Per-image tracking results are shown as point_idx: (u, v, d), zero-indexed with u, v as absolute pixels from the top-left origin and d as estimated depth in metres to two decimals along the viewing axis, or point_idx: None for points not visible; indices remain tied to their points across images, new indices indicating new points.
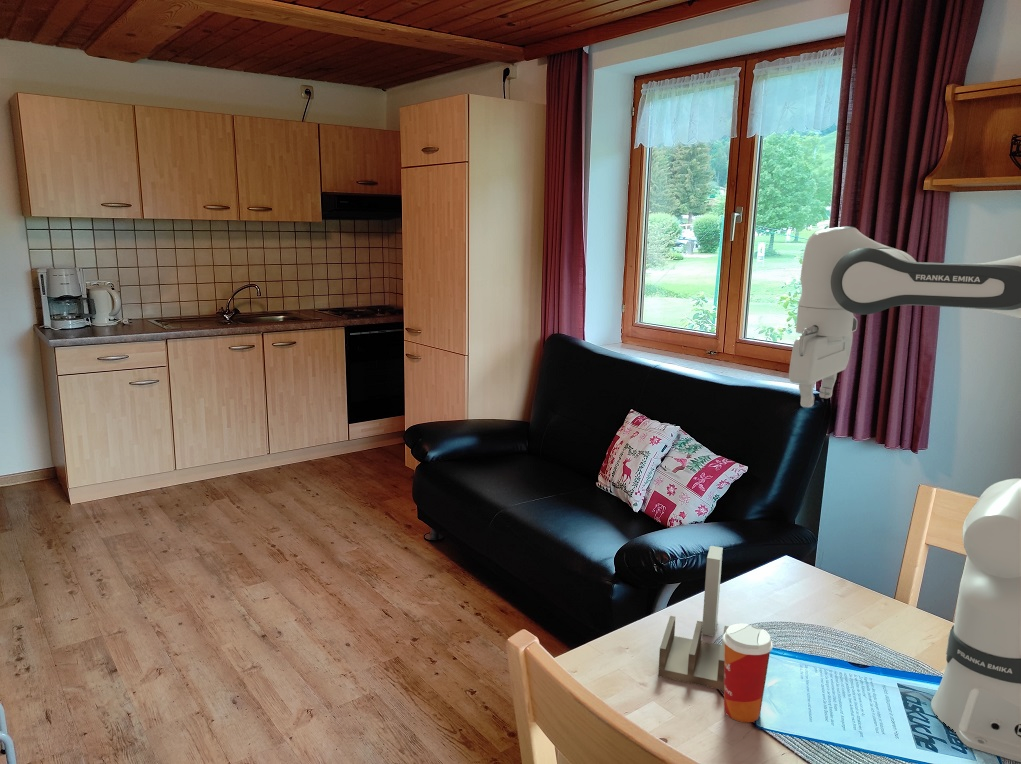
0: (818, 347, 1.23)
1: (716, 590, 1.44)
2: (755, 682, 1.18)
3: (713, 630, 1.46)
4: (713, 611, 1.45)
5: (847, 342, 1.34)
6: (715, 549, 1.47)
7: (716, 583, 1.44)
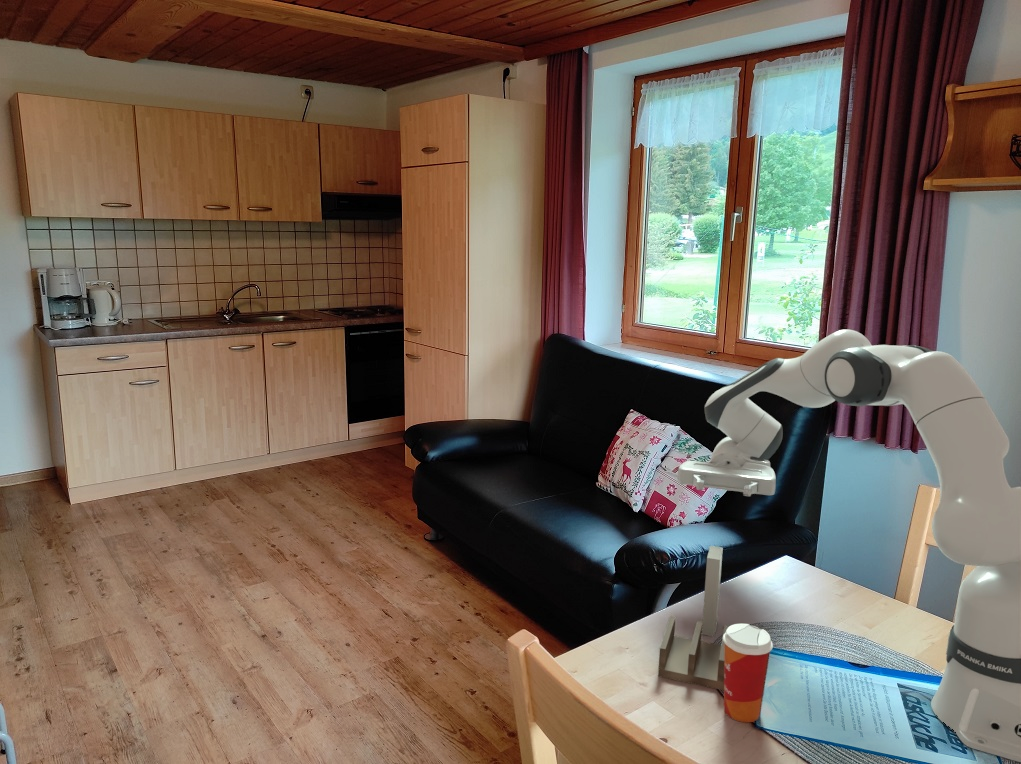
0: (695, 462, 1.67)
1: (716, 590, 1.44)
2: (755, 682, 1.18)
3: (713, 630, 1.46)
4: (713, 611, 1.45)
5: (764, 470, 1.61)
6: (715, 549, 1.47)
7: (716, 583, 1.44)
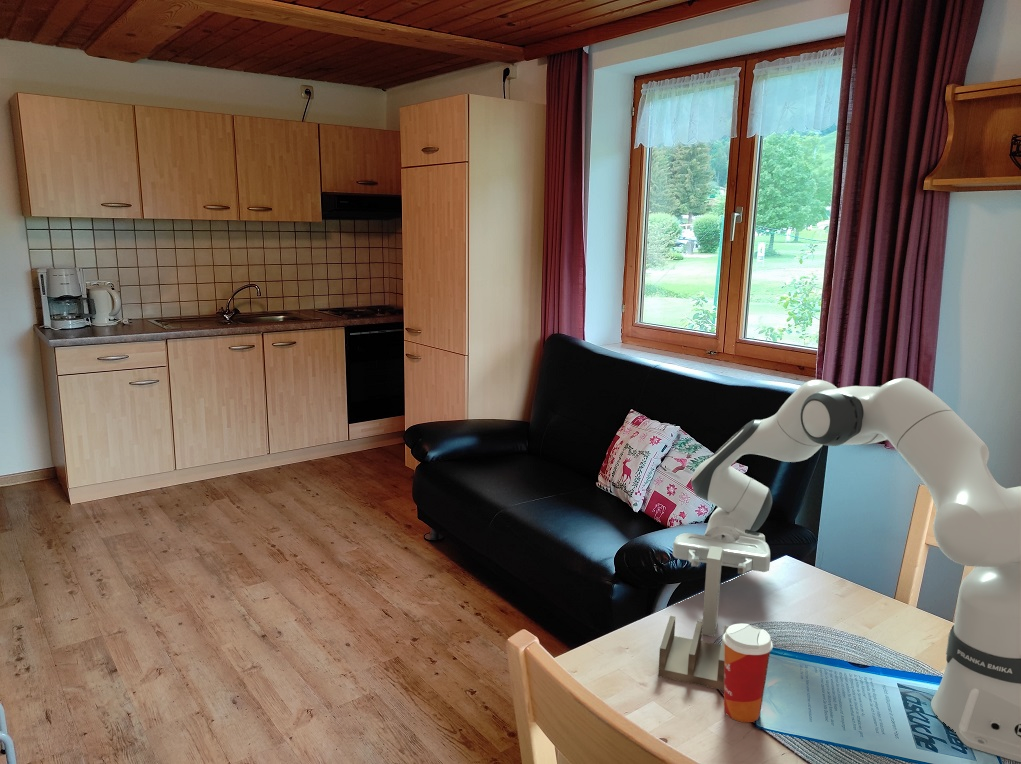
0: (690, 535, 1.68)
1: (716, 590, 1.44)
2: (755, 682, 1.18)
3: (713, 630, 1.46)
4: (713, 611, 1.45)
5: (759, 545, 1.62)
6: (715, 549, 1.47)
7: (716, 583, 1.44)
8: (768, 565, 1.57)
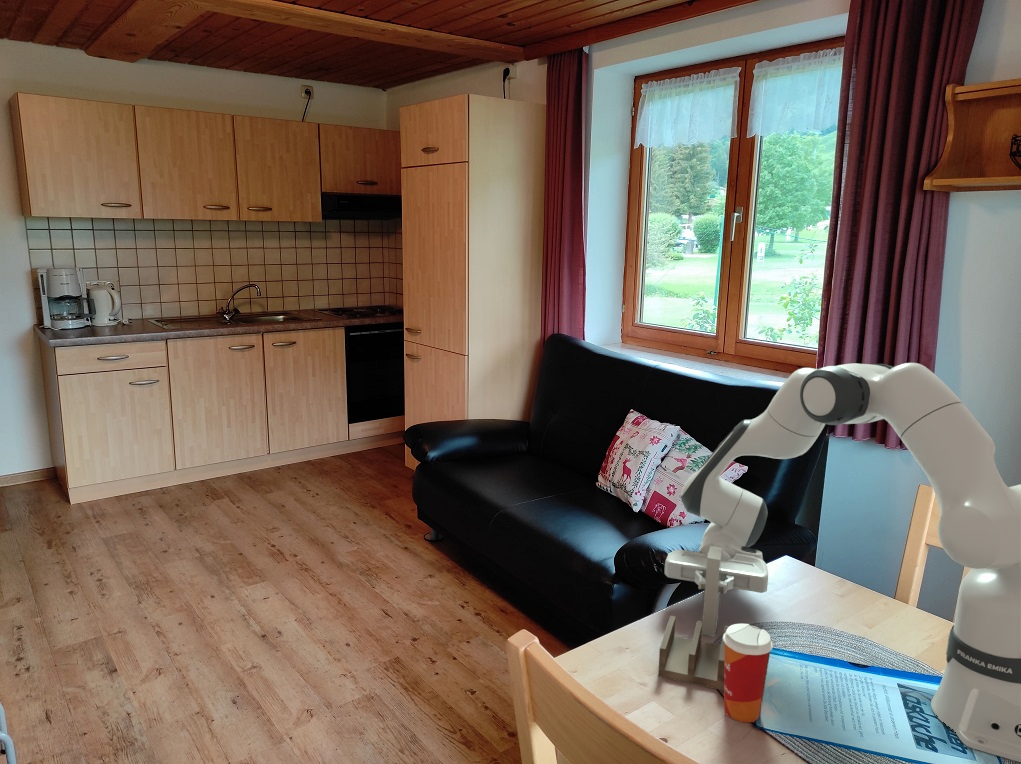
0: (683, 552, 1.58)
1: (716, 590, 1.44)
2: (755, 682, 1.18)
3: (713, 630, 1.45)
4: (713, 611, 1.45)
5: (756, 563, 1.52)
6: (716, 549, 1.47)
7: (716, 583, 1.44)
8: (766, 585, 1.48)
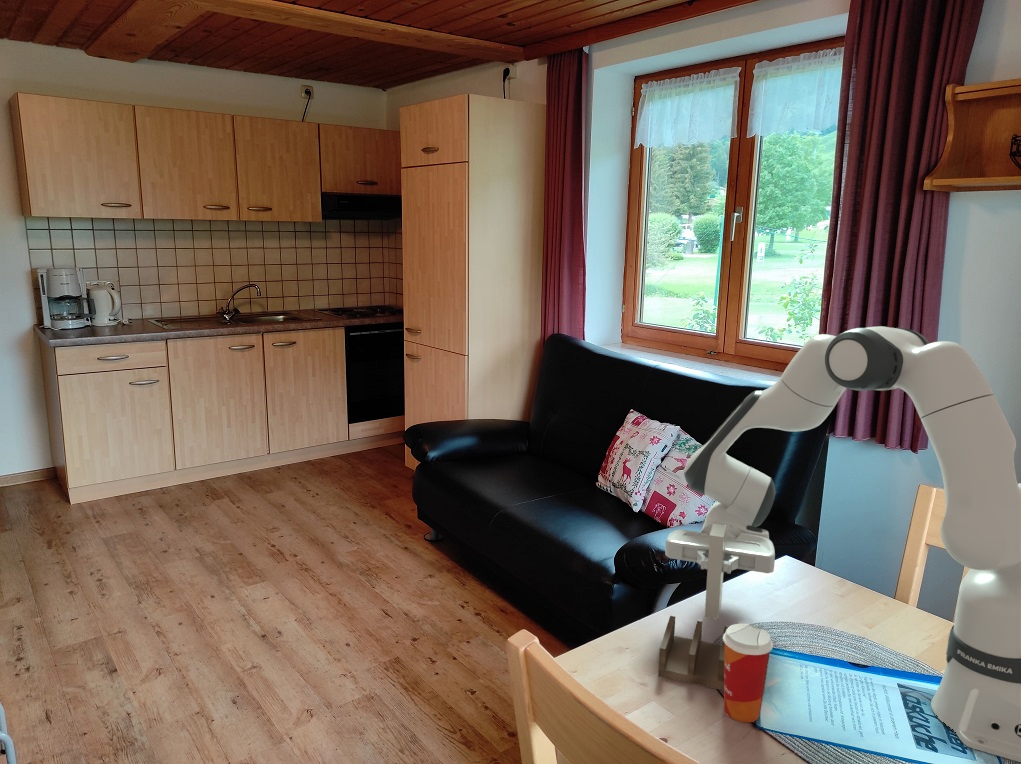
0: (684, 531, 1.49)
1: (720, 570, 1.35)
2: (755, 682, 1.18)
3: (717, 612, 1.37)
4: (716, 592, 1.36)
5: (762, 543, 1.44)
6: (719, 526, 1.39)
7: (719, 562, 1.35)
8: (772, 565, 1.39)
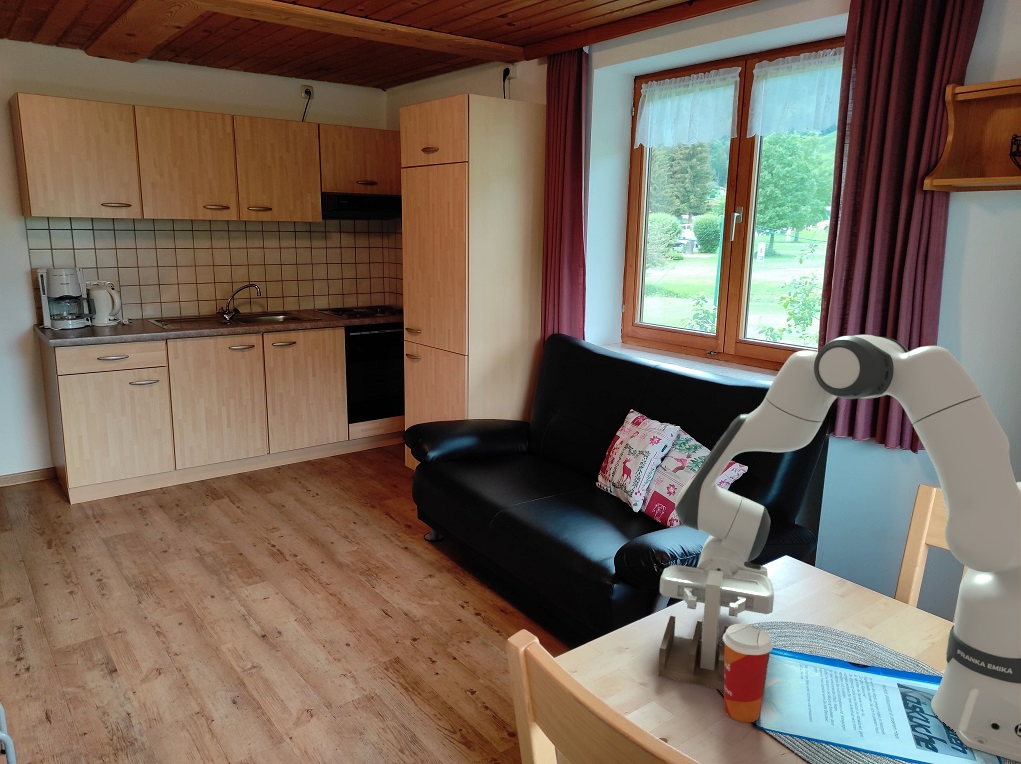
0: (680, 567, 1.44)
1: (716, 620, 1.30)
2: (755, 682, 1.18)
3: (713, 663, 1.32)
4: (712, 642, 1.31)
5: (760, 581, 1.38)
6: (715, 573, 1.33)
7: (716, 612, 1.30)
8: (771, 606, 1.34)
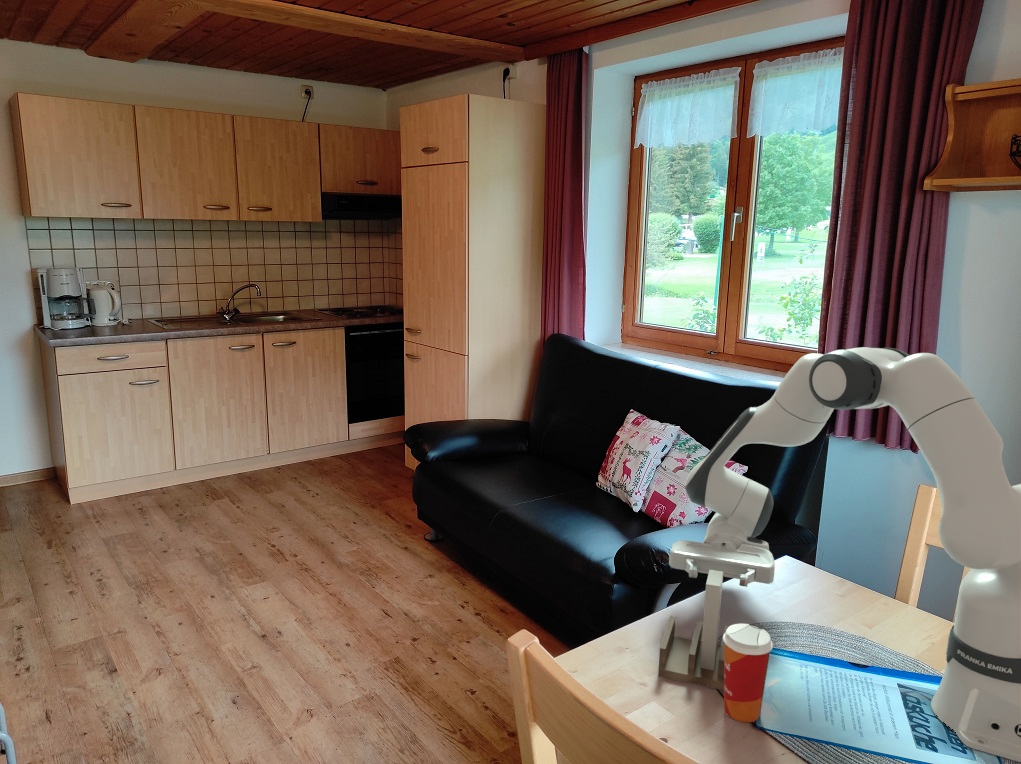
0: (688, 542, 1.55)
1: (716, 620, 1.30)
2: (755, 682, 1.18)
3: (713, 663, 1.32)
4: (712, 642, 1.31)
5: (762, 554, 1.50)
6: (715, 573, 1.33)
7: (716, 612, 1.30)
8: (772, 576, 1.45)
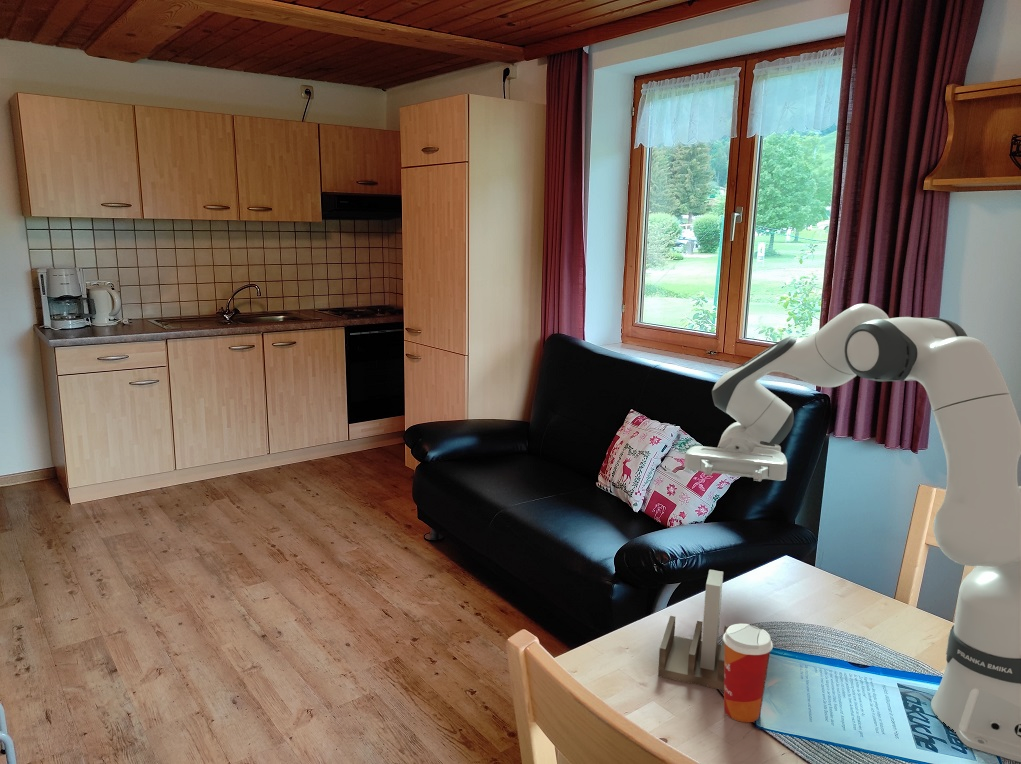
0: (702, 447, 1.60)
1: (716, 620, 1.30)
2: (755, 682, 1.18)
3: (713, 663, 1.32)
4: (712, 642, 1.31)
5: (775, 455, 1.55)
6: (715, 573, 1.33)
7: (716, 612, 1.30)
8: (785, 473, 1.50)
